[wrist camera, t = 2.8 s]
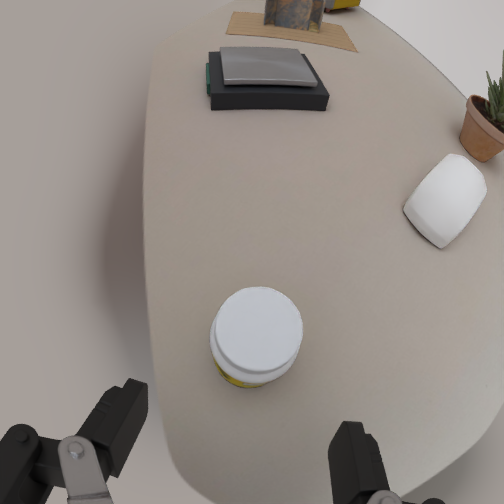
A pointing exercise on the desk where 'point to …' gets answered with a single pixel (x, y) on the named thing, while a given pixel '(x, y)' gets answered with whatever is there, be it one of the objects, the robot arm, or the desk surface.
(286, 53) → the scale pan
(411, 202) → the computer mouse
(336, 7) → the alarm clock
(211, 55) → the scale
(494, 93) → the potted plant
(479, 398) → the desk surface
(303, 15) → the ruin model on sheet
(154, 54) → the desk surface
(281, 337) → the supplement bottle
